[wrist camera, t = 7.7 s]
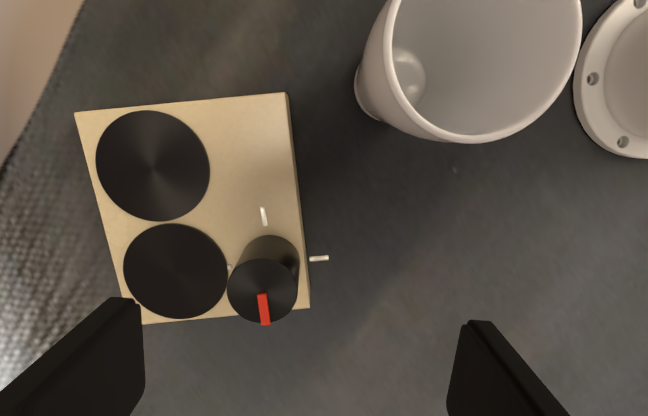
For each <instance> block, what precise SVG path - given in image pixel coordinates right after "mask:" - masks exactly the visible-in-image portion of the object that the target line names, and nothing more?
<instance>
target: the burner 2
mask: <svg viewBox="0 0 648 416" xmlns="http://www.w3.org/2000/svg"><path fill="white" fill-rule="evenodd" d="M123 274H124V279H125V282H126V285H127V287H128V289H129V291H130V292H131V294H132V296H133V297H134V298H135V299H136V300H137V301H138V302H139V303H140V304H141V305H142V306H143V307H145V308H146V309H147V310H149V311H151V312H153V313H155V314H157V315H159V316H163V317H166V318H171V319H189V318H194V317H197V316H200V315H202V314H204V313H206V312H208V311H209V310H211V309H212V308H213V307H214V306H215V305H216V304H217V303H218V302H219V301H220V299H221V298H222V296H223V294H224V292H225V290H226V287H227V282H228V275H229V272H228V267H227V261H226V258H225V256H224V254H223V252H222V250H221V249H220V247H219V246H218V245H217V243H216V242H215V241H214V240H213V239H212V238H211V237H209V236H208V235H207V234H205V233H204V232H202V231H201V230H199V229H197V228H195V227H192V226H189V225H185V224H180V223H165V224H159V225H156V226H153V227H150V228H148V229H146V230H145V231H143V232H142V233H140V234H139V235H138V236H137V237H135V238H134V240H133V241H132V242H131V243H130V245H129V246H128V248H127V250H126V253H125V256H124V260H123Z"/></svg>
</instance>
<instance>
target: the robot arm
mask: <svg viewBox="0 0 648 416" xmlns="http://www.w3.org/2000/svg"><path fill="white" fill-rule="evenodd" d="M573 97H574V105H575V108H576V112H577V116H578V118H579V120H580V122H581V124H582V126H583V128H584V130H585V131H586V133H587V134H588V135H589V136H590V137H591V139H592V140H593V141H594V142H596V143H597V144H598V145H599V146H601V147H602V148H603V149H605V150H607V151H610V152H612V153H614V154H616V155H621V156H625V157H630V158H642V159H648V0H617V1H616V2H615V3H614V4H612V5H611V6H610V7H609V9H608V10H607V11H606V12H605V13H604V14H603V15H602V16H601V17H600V18H599V19H598V21H597V22H596V24H595V25H594V27H593V28H592V29H591V31H590V32H589V34H588V36H587V38H586V40H585V42H584V44H583V46H582V48H581V50H580V53H579V56H578V60H577V63H576V66H575V72H574V80H573ZM144 389H145V367H144V350H143V333H142V316H141V306H140V304H136V303H135V300H134V299H133V298H123V297H110V298H108V299H107V300H106V301H105V302H104V303H102V304H101V305H100V306H99V307H98V308H97V309H96V310H94V311H93V312H92V313H91V314H90V315H89V316H87V317H86V318H85V319H84V320H83V321H82V322H80V323H79V324H78V325H77V326H76V327H75V328H73V329H72V330H71V331H70V332H69V333H68V334H67V335H65V336H64V337H63V338H62V339H61V340H60V341H58V342H57V343H56V344H55V345H54V346H53V347H51V348H50V349H49V350H48V351H47V352H46V353H44V354H43V355H42V356H41V357H40V358H39V359H37V360H36V361H35V362H34V363H33V364H32V365H31V366H29V367H28V368H27V369H26V370H25V371H24V372H22V373H21V374H20V375H19V376H18V377H17V378H15V379H14V380H13V381H12V382H11V383H10V384H8V385H7V386H6V387H5V388H4V389H3V390H2V391H0V416H130V414H131V413H132V411H133V409H134V408H135V406H136V405H137V403H138V402H139V400H140V398H141V397H142V395H143V392H144ZM446 406H447V412H448V415H449V416H570V415H569V414H568V412H567V411H566V410H565V409H564V408H563V407H562V405H561V404H560V403H559V402H558V401H557V399H556V398H555V397H554V396H553V395H552V393H551V392H550V391H549V390H548V389H547V387H546V386H545V385H544V384H543V383H542V381H541V380H540V379H539V378H538V377H537V376H536V374H535V373H534V372H533V371H532V370H531V368H530V367H529V366H528V365H527V364H526V362H525V361H524V360H523V359H522V358H521V356H520V355H519V354H518V353H517V352H516V350H515V349H514V348H513V347H512V346H511V345H510V343H509V342H508V341H507V340H506V339H505V337H504V336H503V335H502V334H501V333H500V331H499V330H498V329H497V328H496V327H495V325H494V324H493V323H492V322H491V321H481V320H469V321H468V323H467V325H465V324H464V325H462V327H461V331H460V335H459V340H458V345H457V350H456V355H455V360H454V365H453V370H452V375H451V380H450V385H449V389H448V394H447V400H446Z"/></svg>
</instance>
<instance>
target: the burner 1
mask: <svg viewBox="0 0 648 416" xmlns="http://www.w3.org/2000/svg"><path fill="white" fill-rule="evenodd" d="M95 164H96V171H97V175H98V178H99V181H100V183H101V185H102V187H103V189H104V191H105V192H106V194H107V195H108V196H109V198H110V199H111V200H112V201H113V202H114V203H115V204H116V205H117V206H118V207H120V208H121V209H122V210H124V211H125V212H127V213H128V214H130V215H132V216H135V217H137V218H140V219H143V220H148V221H155V222H163V221H170V220H174V219H177V218H180V217H182V216H184V215H186V214H187V213H189V212H190V211H192V210H193V209H194V208H195V207H196V206H197V205H198V204H199V203H200V202H201V200H202V199H203V197H204V195H205V193H206V191H207V188H208V185H209V180H210V163H209V158H208V155H207V152H206V149H205V147H204V145H203V143H202V141H201V140H200V139H199V137H198V136H197V134H196V133H195V132H194V131H193V130H192V129H191V128H190V127H189V126H188V125H187V124H185V123H184V122H182V121H181V120H179V119H178V118H176V117H174V116H172V115H169V114H166V113H163V112H159V111H152V110H140V111H134V112H130V113H127V114H124V115H122V116H120V117H119V118H117V119H116V120H114V121H113V122H112V123H111V124H110V125H109V126H108V127H107V128H106V129H105V130H104V132H103V133H102V135H101V137H100V139H99V142H98V144H97V149H96V155H95Z"/></svg>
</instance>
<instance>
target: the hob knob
mask: <svg viewBox="0 0 648 416" xmlns="http://www.w3.org/2000/svg"><path fill="white" fill-rule="evenodd" d="M299 274H300V256H299V253H298V251H297V250H296V248H295V247H294V245H293V244H292V243H290V242H289V241H288V240H286V239H284V238H282V237H280V236H276V235H264V236H260V237H257V238H255V239H254V240H252V241H251V242H250V243H249V244H248V245H247V246H246V247H245V249H244V250H243V252H242V254H241V256H240V258H239V260H238V262H237V264H236V265H235V267H234V269H233V271H232V273H231V275H230V277H229V279H228V282H227V289H226V291H227V297H228V300H229V303H230V305H231V306H232V308H233V309H234V310H235V311H236V312H237V313H238V314H239V315H240V316H241V317H243V318H245V319H247V320H249V321H252V322H257V323H261V325H270V323H271V322H273V321H277V320H279V319H281V318H283V317H284V316H285V315H287V314H288V313H289V312H290V311H291V310H292V308H293V307H294V305H295V303H296V300H297V295H298V285H299Z"/></svg>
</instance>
